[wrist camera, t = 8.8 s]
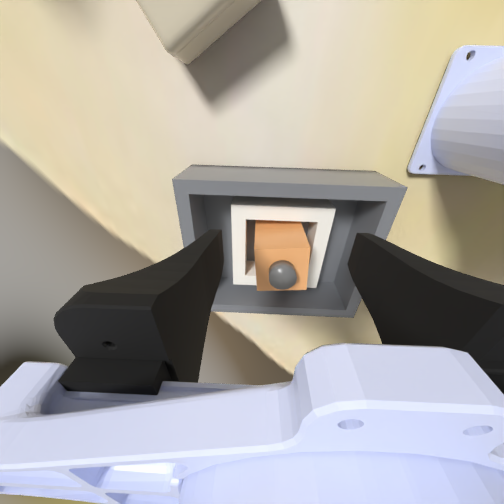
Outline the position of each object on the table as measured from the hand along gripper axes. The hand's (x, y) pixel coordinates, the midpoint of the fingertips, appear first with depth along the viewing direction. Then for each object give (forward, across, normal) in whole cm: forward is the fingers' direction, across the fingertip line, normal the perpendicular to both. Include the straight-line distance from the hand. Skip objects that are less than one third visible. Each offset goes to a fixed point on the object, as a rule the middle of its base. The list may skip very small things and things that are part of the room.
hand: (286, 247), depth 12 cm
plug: (+9, 0, +4) cm, 10 cm away
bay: (+10, 0, +4) cm, 11 cm away
